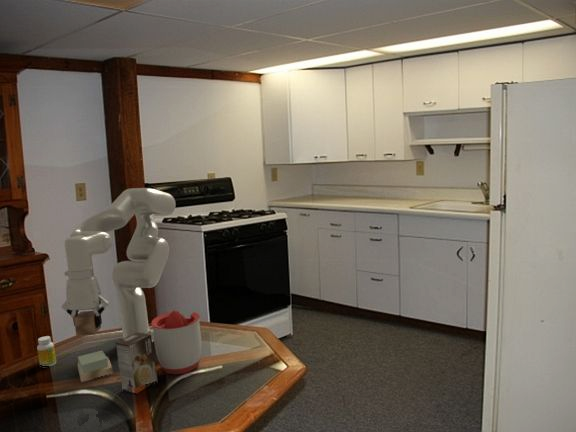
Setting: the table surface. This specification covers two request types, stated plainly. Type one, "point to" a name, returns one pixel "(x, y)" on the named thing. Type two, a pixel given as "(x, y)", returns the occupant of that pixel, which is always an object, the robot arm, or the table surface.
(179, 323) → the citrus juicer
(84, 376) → the birch base block
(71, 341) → the table surface
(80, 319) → the walnut cube
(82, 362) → the sage top block
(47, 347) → the supplement bottle
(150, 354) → the coffee box
